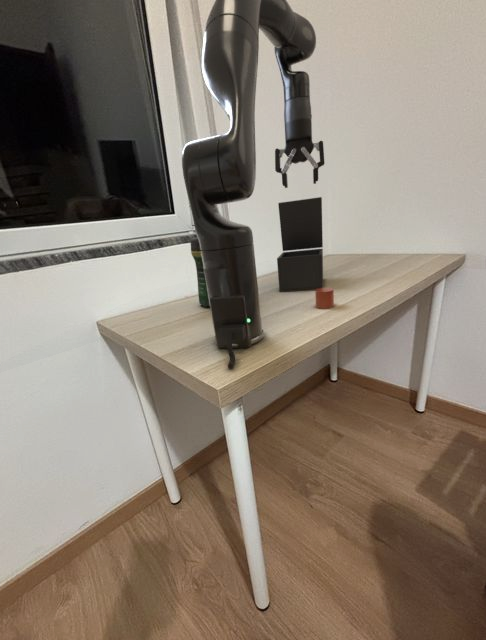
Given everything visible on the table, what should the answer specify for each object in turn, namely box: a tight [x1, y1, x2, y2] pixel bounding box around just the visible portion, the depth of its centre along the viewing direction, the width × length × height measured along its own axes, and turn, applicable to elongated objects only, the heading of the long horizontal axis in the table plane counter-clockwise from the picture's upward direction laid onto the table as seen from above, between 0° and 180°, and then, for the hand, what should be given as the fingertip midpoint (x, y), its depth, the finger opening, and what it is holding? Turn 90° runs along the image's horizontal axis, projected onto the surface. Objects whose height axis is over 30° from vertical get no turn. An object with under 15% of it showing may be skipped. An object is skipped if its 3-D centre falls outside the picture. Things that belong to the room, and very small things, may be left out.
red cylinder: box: [314, 287, 335, 310], centre depth 73 cm, size 4×4×4 cm
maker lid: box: [277, 196, 324, 252], centre depth 96 cm, size 14×13×5 cm
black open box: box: [276, 248, 324, 293], centre depth 94 cm, size 14×13×10 cm
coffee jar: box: [190, 236, 210, 308], centre depth 85 cm, size 10×8×19 cm
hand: (300, 185), depth 93 cm, fingers open, 8 cm apart
